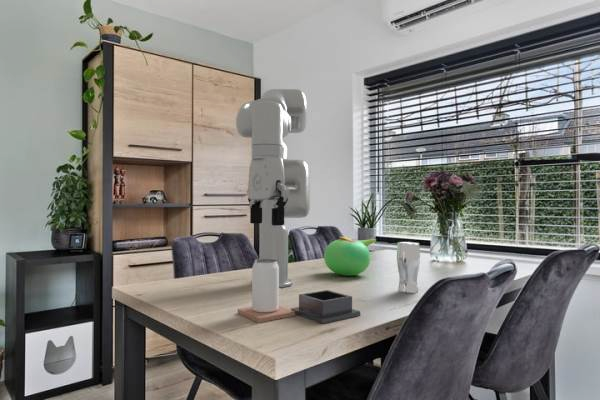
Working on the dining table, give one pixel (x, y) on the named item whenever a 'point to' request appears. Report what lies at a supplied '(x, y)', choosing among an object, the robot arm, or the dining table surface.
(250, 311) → the mat
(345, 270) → the green round teapot
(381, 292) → the dining table surface
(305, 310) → the sleeve
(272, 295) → the can
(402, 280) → the beer glass
